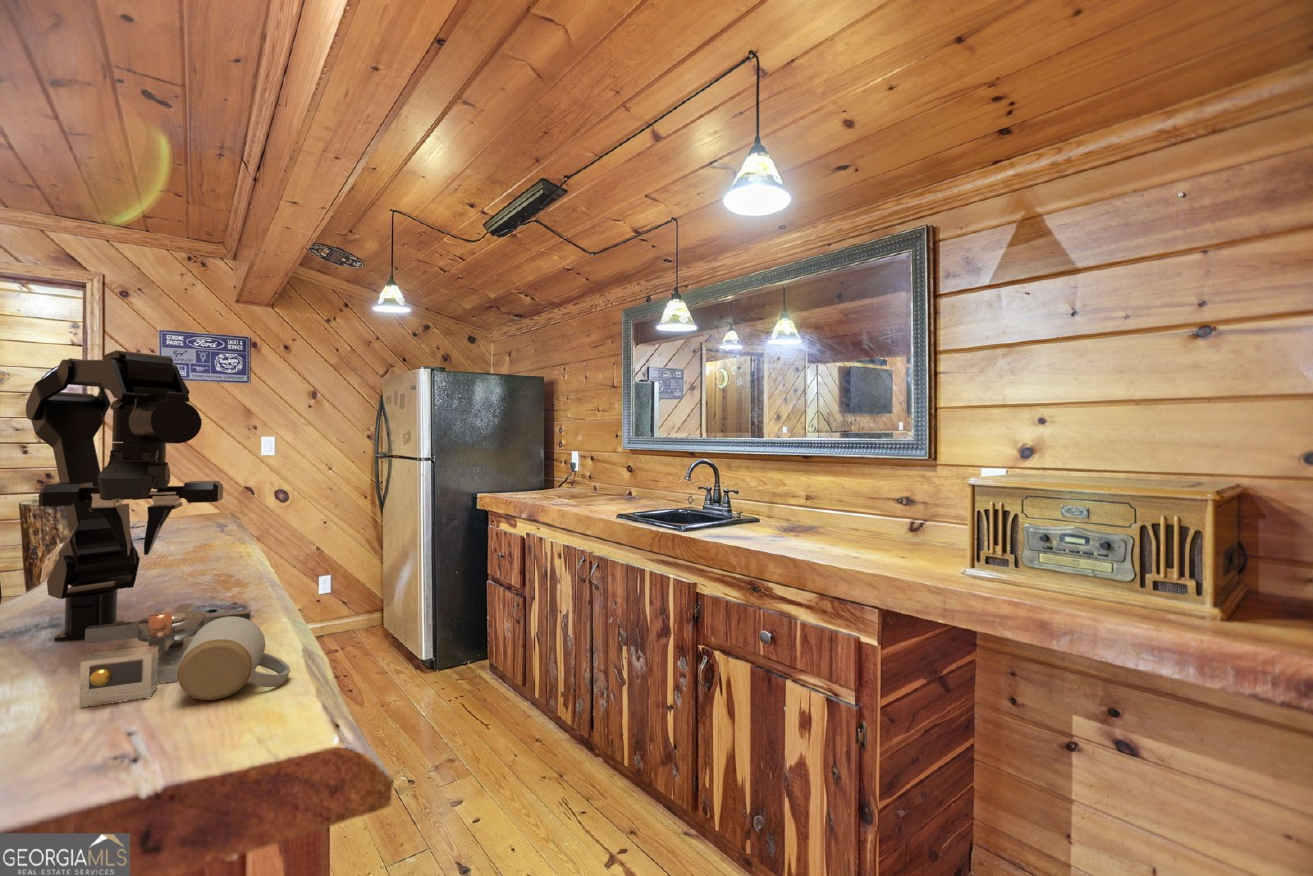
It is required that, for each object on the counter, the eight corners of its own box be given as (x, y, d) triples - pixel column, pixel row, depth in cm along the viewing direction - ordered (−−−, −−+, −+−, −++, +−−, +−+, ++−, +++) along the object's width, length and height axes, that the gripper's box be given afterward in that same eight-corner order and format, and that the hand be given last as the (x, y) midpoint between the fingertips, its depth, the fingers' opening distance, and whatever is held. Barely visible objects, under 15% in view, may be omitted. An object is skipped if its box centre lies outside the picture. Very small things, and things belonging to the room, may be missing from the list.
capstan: (108, 624, 83) (109, 593, 83) (256, 610, 91) (257, 581, 91) (60, 665, 68) (61, 626, 68) (242, 643, 76) (243, 609, 76)
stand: (132, 646, 84) (133, 610, 84) (236, 634, 90) (236, 601, 90) (68, 714, 63) (70, 666, 64) (208, 693, 69) (209, 649, 69)
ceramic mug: (171, 710, 65) (175, 638, 65) (189, 682, 72) (192, 618, 72) (286, 694, 70) (289, 628, 70) (292, 670, 77) (294, 610, 77)
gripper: (21, 441, 72) (17, 572, 72) (212, 444, 81) (209, 560, 81) (57, 441, 82) (54, 556, 82) (224, 443, 91) (222, 547, 91)
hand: (136, 555), depth 83 cm, fingers closed
